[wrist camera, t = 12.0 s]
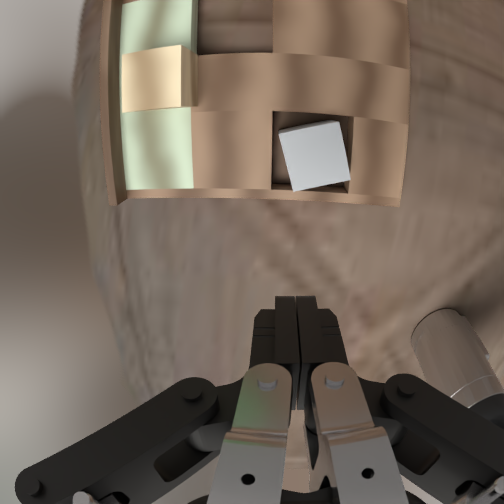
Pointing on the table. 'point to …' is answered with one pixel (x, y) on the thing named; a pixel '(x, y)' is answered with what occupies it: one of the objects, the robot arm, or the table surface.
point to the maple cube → (159, 79)
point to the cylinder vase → (192, 486)
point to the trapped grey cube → (314, 154)
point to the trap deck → (260, 101)
